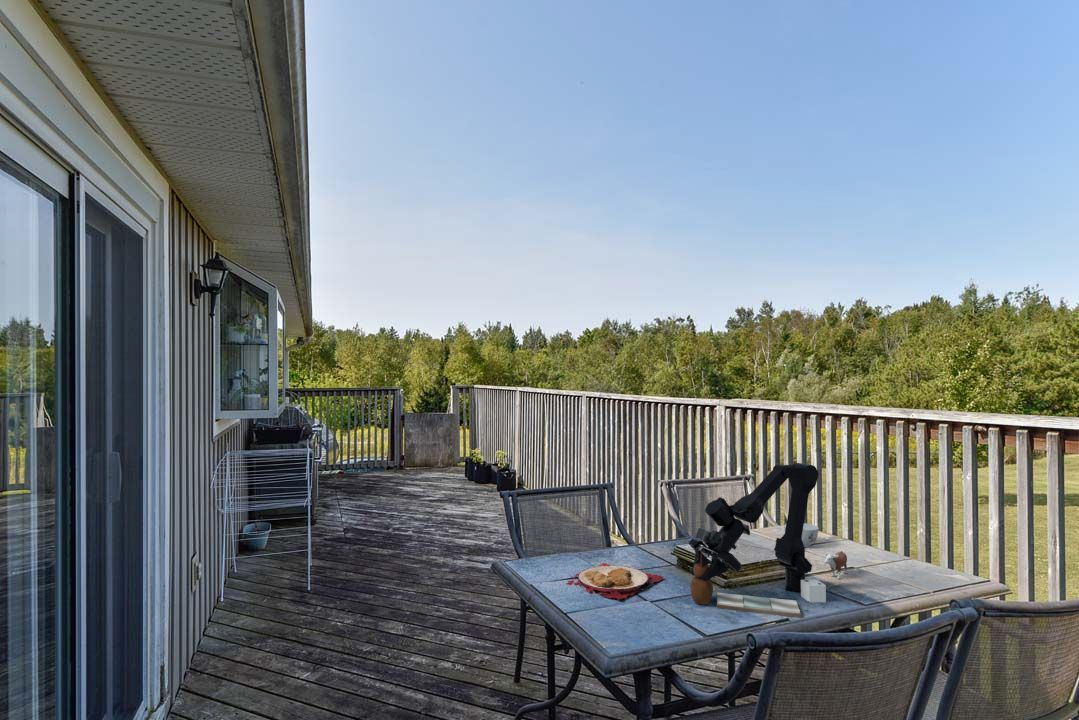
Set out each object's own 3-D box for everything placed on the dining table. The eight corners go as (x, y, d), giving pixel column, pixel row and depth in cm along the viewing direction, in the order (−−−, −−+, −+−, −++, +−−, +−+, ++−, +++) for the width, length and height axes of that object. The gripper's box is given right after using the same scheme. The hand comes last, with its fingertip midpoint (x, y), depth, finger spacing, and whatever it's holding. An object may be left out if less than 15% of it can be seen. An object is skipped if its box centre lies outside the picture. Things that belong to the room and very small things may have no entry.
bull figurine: (822, 578, 189) (821, 554, 190) (838, 570, 198) (837, 546, 198) (835, 582, 186) (835, 557, 186) (851, 573, 195) (851, 549, 195)
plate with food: (664, 582, 189) (664, 571, 189) (620, 603, 169) (620, 590, 169) (603, 567, 205) (603, 557, 205) (556, 585, 185) (556, 574, 185)
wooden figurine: (697, 597, 173) (696, 547, 174) (715, 601, 169) (715, 550, 170) (687, 603, 168) (687, 552, 168) (706, 608, 164) (705, 555, 165)
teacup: (826, 548, 225) (826, 527, 225) (801, 551, 220) (801, 530, 221) (797, 538, 239) (796, 519, 239) (773, 541, 234) (773, 521, 235)
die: (801, 596, 174) (800, 579, 174) (817, 596, 174) (816, 579, 174) (809, 602, 169) (809, 585, 169) (826, 602, 169) (825, 584, 169)
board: (716, 595, 174) (716, 591, 174) (796, 604, 167) (796, 599, 167) (716, 608, 164) (716, 603, 165) (801, 617, 158) (801, 612, 158)
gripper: (693, 512, 180) (663, 551, 176) (732, 525, 162) (699, 569, 158) (714, 535, 182) (685, 574, 178) (755, 551, 164) (723, 594, 160)
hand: (697, 577), depth 168 cm, fingers open, 5 cm apart
